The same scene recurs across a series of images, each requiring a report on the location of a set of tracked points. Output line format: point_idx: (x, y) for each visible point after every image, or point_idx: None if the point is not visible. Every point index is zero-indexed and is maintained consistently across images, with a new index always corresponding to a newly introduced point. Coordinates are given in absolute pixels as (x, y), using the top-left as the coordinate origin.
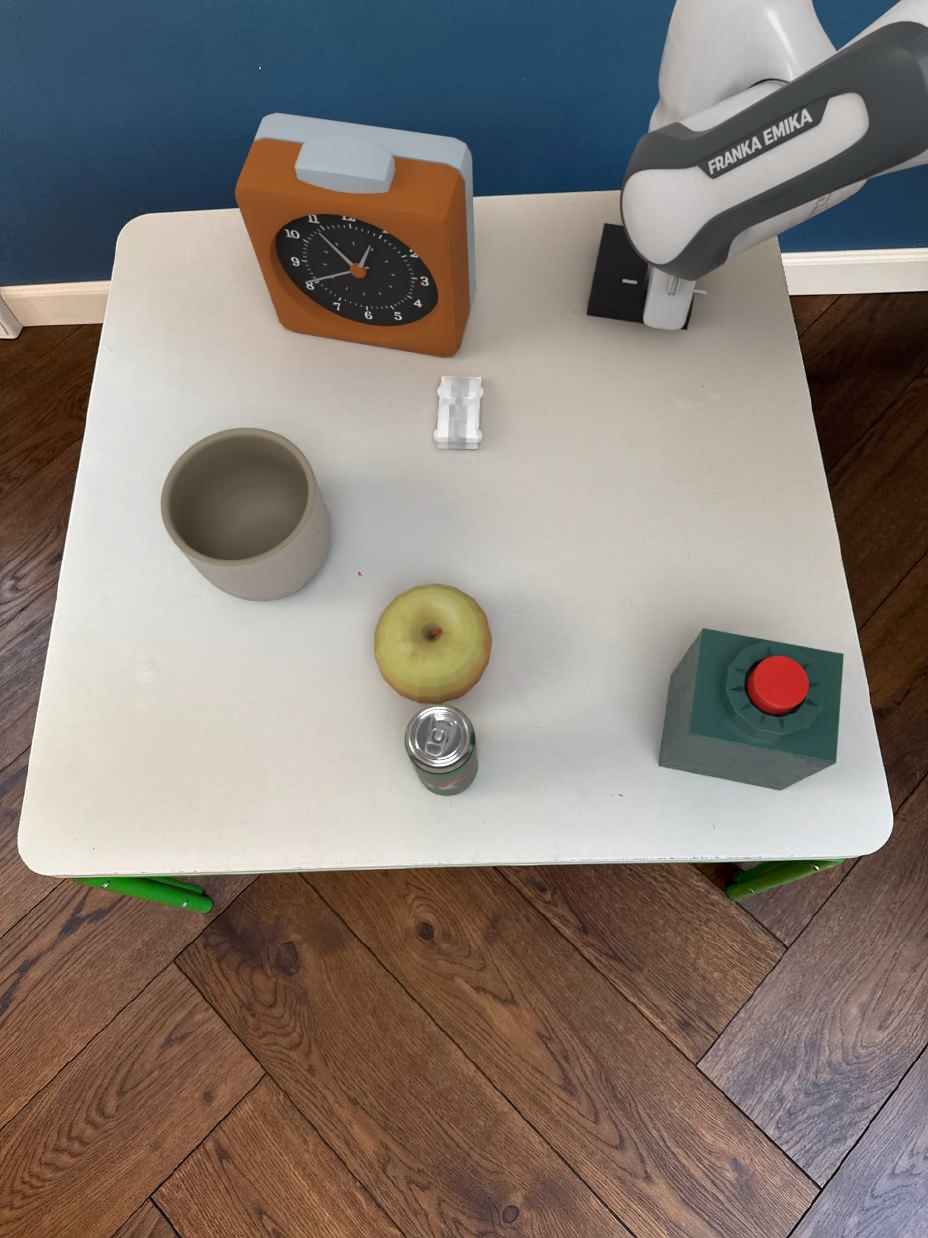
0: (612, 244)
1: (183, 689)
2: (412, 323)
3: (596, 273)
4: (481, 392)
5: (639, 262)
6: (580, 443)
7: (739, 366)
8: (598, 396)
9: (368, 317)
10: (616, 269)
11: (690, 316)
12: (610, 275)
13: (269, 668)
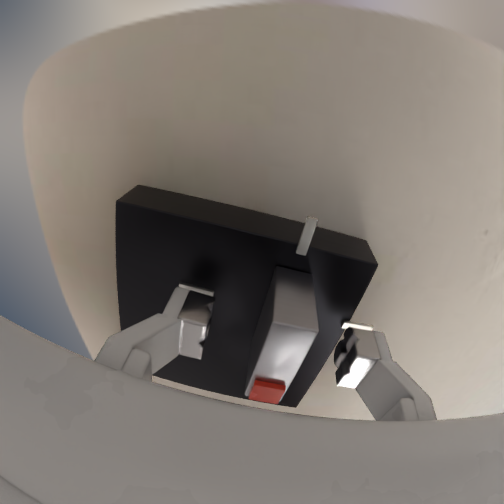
0: (168, 367)
1: None
2: None
3: (236, 395)
4: None
5: (207, 340)
6: (476, 379)
7: (471, 148)
8: (435, 369)
9: None
10: (226, 373)
11: (377, 265)
12: (241, 381)
13: None
